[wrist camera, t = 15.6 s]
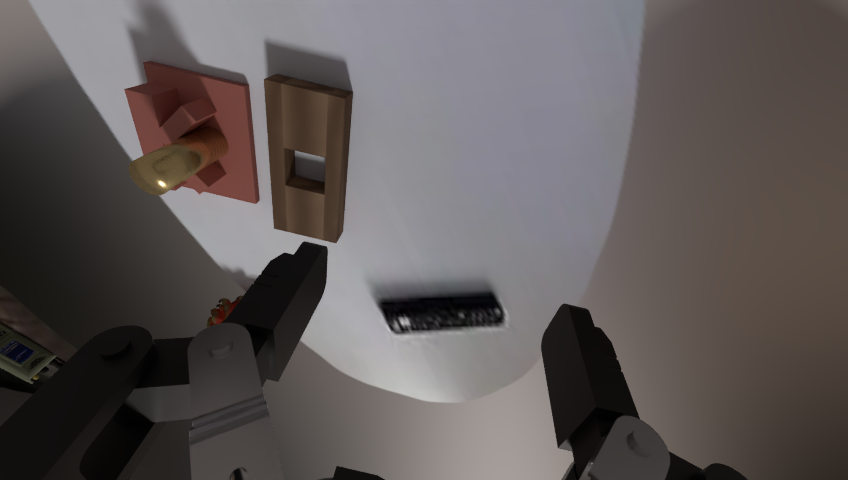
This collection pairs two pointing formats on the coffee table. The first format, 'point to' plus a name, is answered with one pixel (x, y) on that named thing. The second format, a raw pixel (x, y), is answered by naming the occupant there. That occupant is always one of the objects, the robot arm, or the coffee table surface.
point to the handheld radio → (23, 355)
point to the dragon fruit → (222, 311)
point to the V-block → (198, 124)
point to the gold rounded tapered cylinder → (178, 160)
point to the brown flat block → (314, 134)
